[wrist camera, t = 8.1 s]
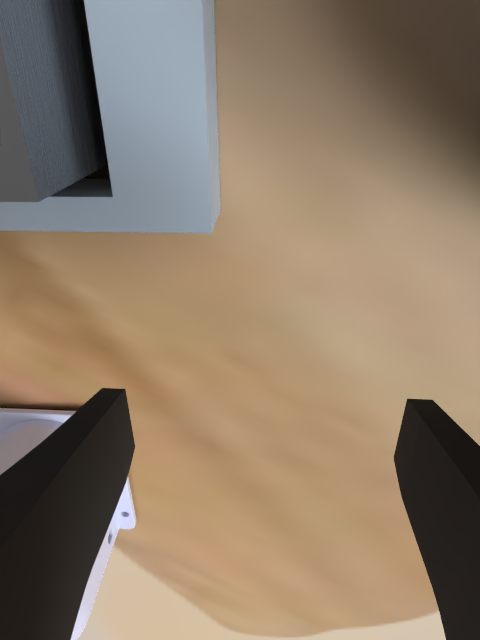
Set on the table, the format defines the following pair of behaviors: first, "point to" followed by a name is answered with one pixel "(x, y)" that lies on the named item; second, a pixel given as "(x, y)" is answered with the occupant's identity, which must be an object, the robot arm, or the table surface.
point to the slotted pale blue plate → (145, 125)
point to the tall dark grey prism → (46, 99)
